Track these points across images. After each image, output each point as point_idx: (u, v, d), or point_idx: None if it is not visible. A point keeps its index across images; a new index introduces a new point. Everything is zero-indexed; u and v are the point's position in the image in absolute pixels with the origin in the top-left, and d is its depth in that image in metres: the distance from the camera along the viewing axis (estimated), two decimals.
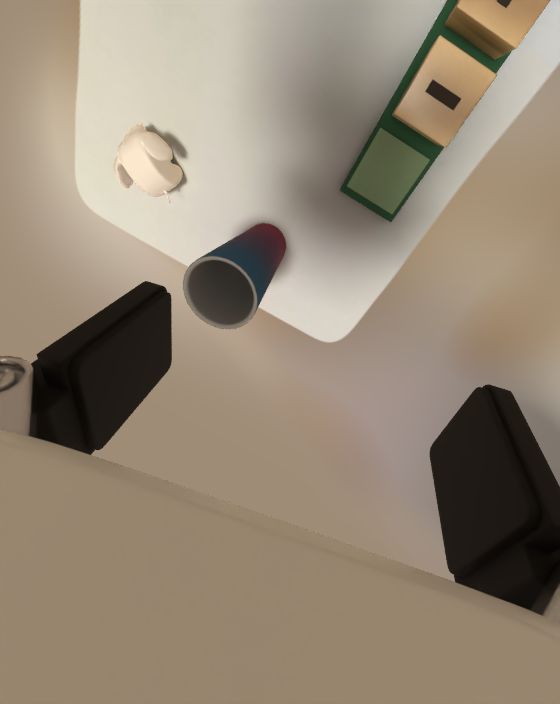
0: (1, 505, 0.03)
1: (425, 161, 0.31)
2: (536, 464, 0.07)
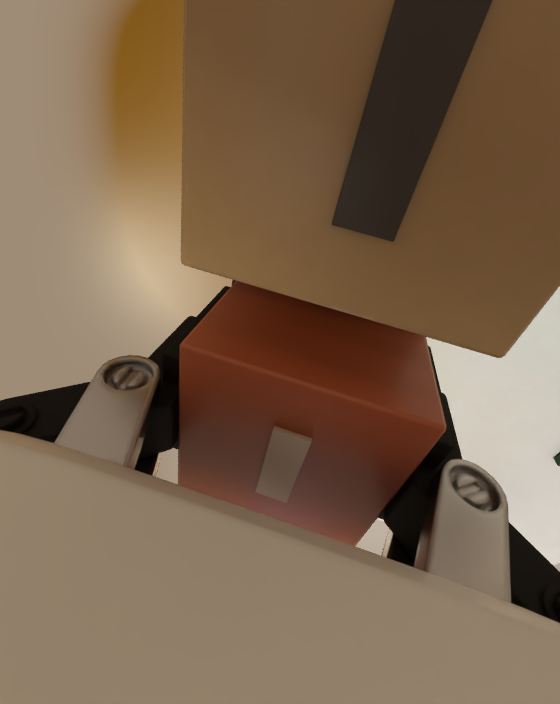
0: (1, 505, 0.03)
1: None
2: None
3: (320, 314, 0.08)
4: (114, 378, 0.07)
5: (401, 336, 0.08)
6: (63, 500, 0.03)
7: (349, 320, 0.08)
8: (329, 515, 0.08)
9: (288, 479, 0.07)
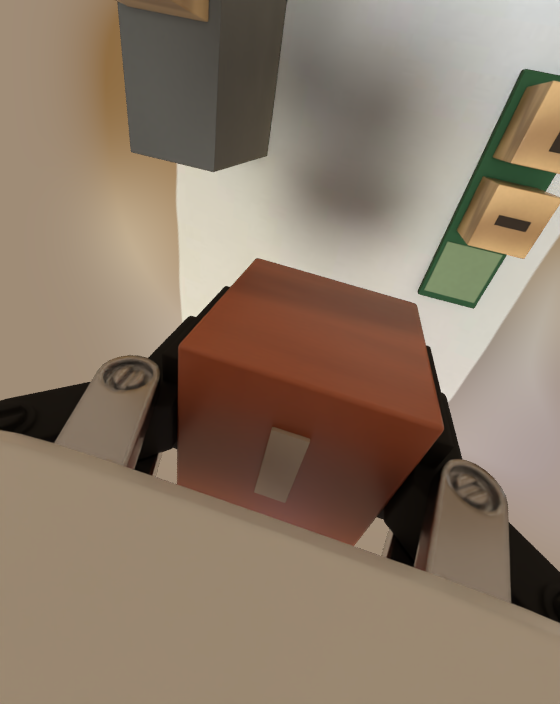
0: (1, 505, 0.03)
1: (498, 257, 0.34)
2: None
3: (319, 315, 0.08)
4: (114, 378, 0.07)
5: (400, 337, 0.08)
6: (63, 500, 0.03)
7: (347, 320, 0.08)
8: (327, 515, 0.08)
9: (287, 479, 0.07)
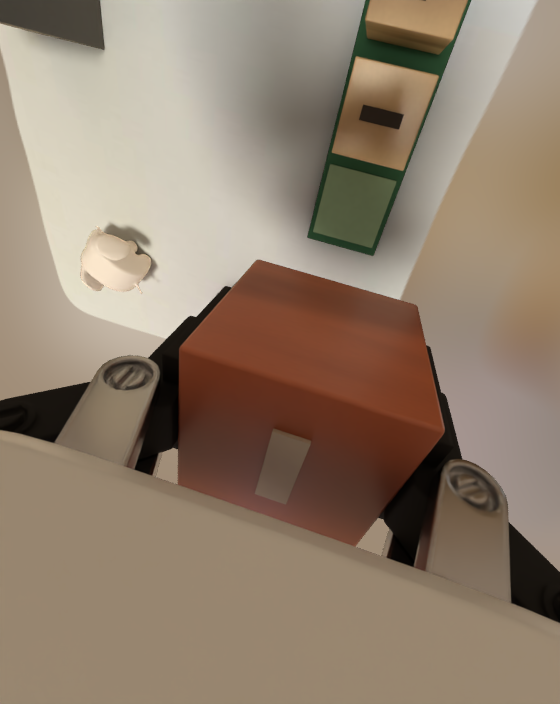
0: (1, 505, 0.03)
1: (391, 184, 0.27)
2: None
3: (319, 317, 0.08)
4: (114, 378, 0.07)
5: (401, 338, 0.08)
6: (63, 500, 0.03)
7: (348, 322, 0.08)
8: (329, 517, 0.08)
9: (287, 481, 0.07)
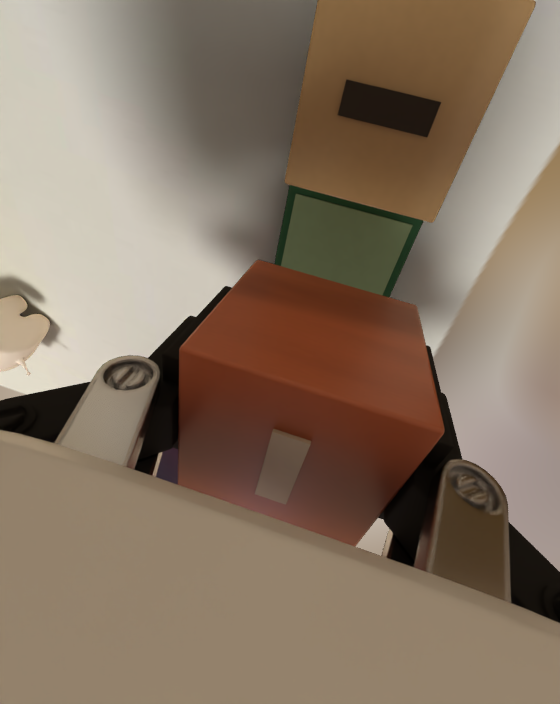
0: (1, 505, 0.03)
1: (403, 229, 0.15)
2: None
3: (319, 317, 0.08)
4: (114, 378, 0.07)
5: (400, 339, 0.08)
6: (63, 500, 0.03)
7: (348, 322, 0.08)
8: (328, 517, 0.08)
9: (287, 481, 0.07)
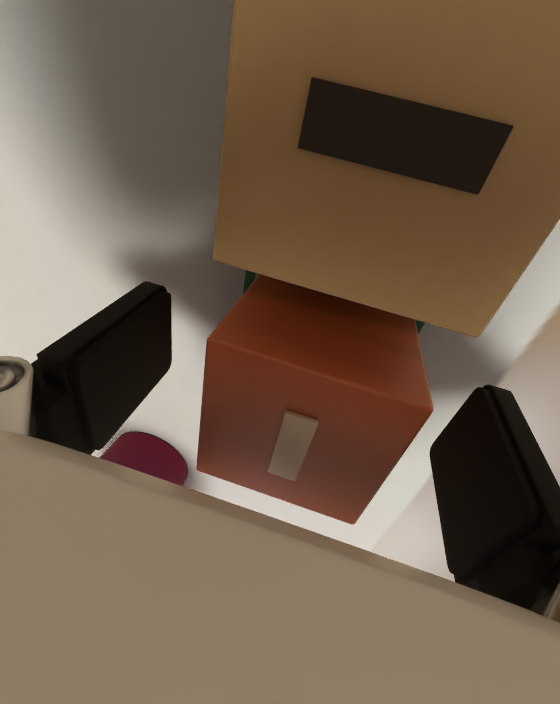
0: (1, 505, 0.03)
1: None
2: (536, 464, 0.07)
3: (325, 315, 0.09)
4: None
5: (397, 334, 0.09)
6: (63, 500, 0.03)
7: (350, 319, 0.09)
8: (333, 492, 0.09)
9: (297, 459, 0.08)
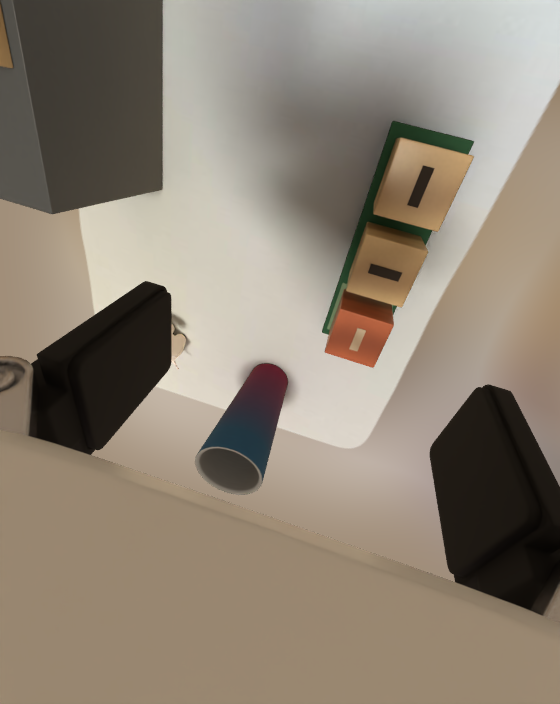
0: (1, 505, 0.03)
1: None
2: (536, 464, 0.07)
3: (366, 304, 0.31)
4: None
5: (386, 310, 0.31)
6: (63, 500, 0.03)
7: (372, 306, 0.31)
8: (367, 355, 0.31)
9: (359, 343, 0.31)
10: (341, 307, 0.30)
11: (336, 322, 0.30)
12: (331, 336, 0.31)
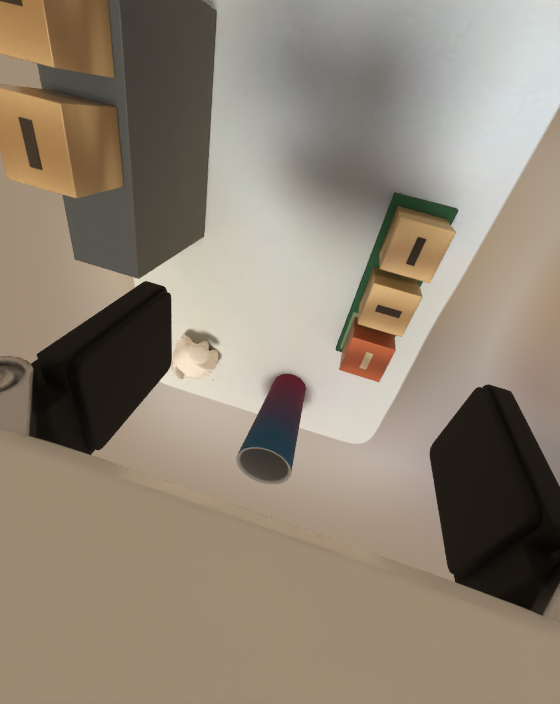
0: (1, 505, 0.03)
1: None
2: (536, 464, 0.07)
3: (372, 331, 0.39)
4: None
5: (389, 336, 0.39)
6: (63, 500, 0.03)
7: (378, 332, 0.39)
8: (374, 372, 0.39)
9: (367, 363, 0.38)
10: (353, 335, 0.37)
11: (349, 347, 0.38)
12: (345, 357, 0.39)
